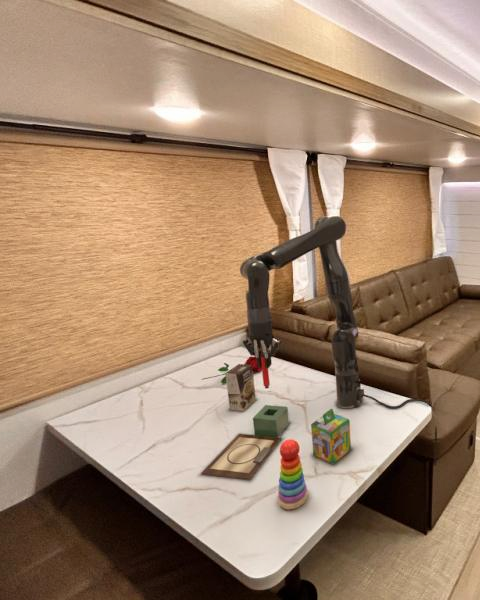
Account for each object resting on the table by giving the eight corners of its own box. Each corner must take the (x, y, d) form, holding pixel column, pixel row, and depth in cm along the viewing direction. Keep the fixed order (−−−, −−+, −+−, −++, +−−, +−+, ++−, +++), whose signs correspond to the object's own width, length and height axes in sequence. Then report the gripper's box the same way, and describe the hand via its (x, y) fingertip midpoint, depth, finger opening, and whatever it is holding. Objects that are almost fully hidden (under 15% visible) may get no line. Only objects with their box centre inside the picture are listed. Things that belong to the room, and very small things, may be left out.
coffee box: (243, 411, 147) (239, 374, 143) (229, 410, 149) (224, 373, 144) (256, 400, 156) (252, 364, 152) (243, 398, 157) (238, 363, 153)
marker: (271, 386, 132) (267, 352, 129) (268, 389, 130) (264, 354, 127) (265, 386, 132) (262, 352, 129) (262, 389, 130) (258, 354, 127)
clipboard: (281, 439, 130) (281, 436, 130) (250, 480, 111) (249, 476, 111) (239, 435, 132) (238, 431, 132) (201, 474, 113) (200, 470, 113)
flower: (203, 366, 161) (265, 350, 185) (195, 371, 167) (256, 355, 190) (209, 387, 160) (271, 368, 184) (201, 391, 166) (261, 372, 189)
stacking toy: (274, 511, 100) (267, 450, 95) (283, 488, 107) (277, 431, 103) (304, 510, 100) (298, 450, 95) (310, 488, 107) (306, 431, 103)
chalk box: (333, 465, 117) (330, 423, 113) (312, 455, 122) (309, 415, 118) (352, 449, 124) (350, 409, 121) (331, 440, 129) (329, 402, 125)
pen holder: (289, 423, 139) (287, 406, 137) (277, 437, 131) (276, 420, 129) (267, 421, 141) (265, 404, 139) (254, 435, 132) (252, 418, 130)
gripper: (234, 321, 122) (240, 370, 127) (273, 323, 120) (278, 373, 124) (246, 315, 129) (252, 361, 134) (284, 316, 127) (288, 363, 131)
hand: (264, 366), depth 129 cm, fingers closed on marker, 2 cm apart
